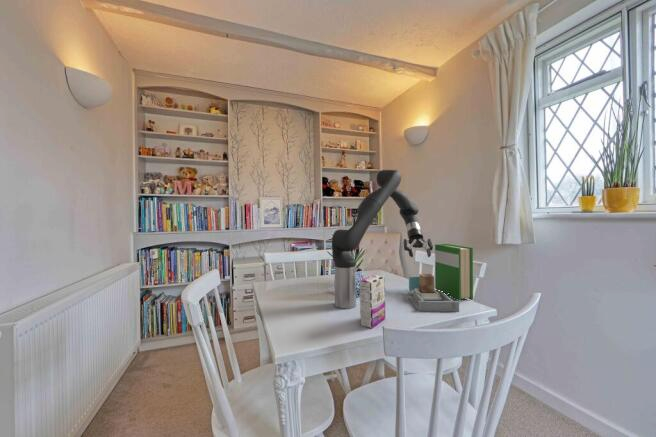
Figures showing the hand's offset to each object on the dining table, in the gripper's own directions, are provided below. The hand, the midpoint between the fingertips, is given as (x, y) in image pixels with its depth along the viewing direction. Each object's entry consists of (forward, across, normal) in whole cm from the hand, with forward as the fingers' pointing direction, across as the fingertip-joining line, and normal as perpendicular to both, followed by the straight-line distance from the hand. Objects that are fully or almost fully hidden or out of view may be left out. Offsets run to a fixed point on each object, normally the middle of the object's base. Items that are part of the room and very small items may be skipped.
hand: (420, 256), depth 132 cm
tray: (+18, 0, +6) cm, 19 cm away
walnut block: (+18, 0, +5) cm, 19 cm away
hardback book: (+15, +15, +12) cm, 24 cm away
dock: (+25, 0, +2) cm, 25 cm away
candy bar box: (+40, -28, -14) cm, 50 cm away
